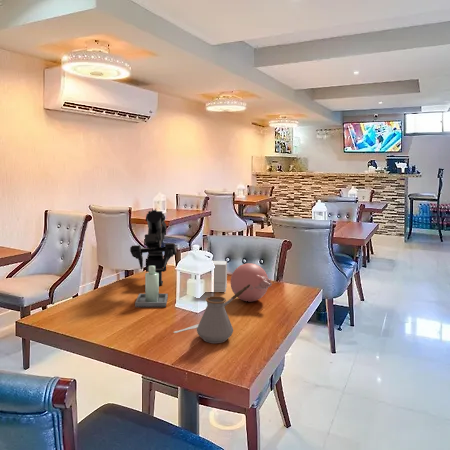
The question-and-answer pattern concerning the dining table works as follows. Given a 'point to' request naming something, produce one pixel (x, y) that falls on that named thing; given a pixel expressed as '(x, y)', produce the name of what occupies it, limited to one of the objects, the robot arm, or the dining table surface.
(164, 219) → the robot arm
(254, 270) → the pomegranate
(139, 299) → the slate tray
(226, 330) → the coffee pot
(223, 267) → the supplement box
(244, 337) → the dining table surface
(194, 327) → the butter knife
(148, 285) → the glass bottle
